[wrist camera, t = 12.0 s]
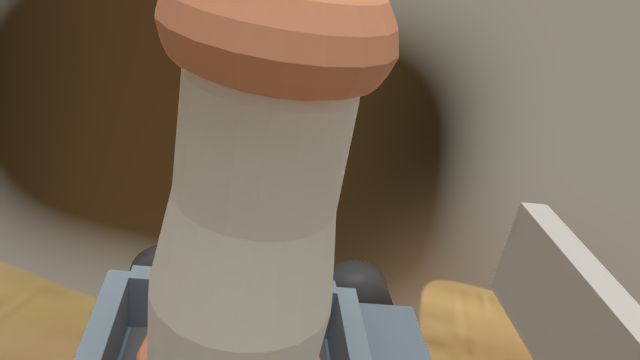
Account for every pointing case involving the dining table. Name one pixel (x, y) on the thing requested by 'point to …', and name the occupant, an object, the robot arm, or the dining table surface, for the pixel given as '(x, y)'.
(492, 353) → the dining table surface
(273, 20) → the pepper shaker
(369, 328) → the chassis
